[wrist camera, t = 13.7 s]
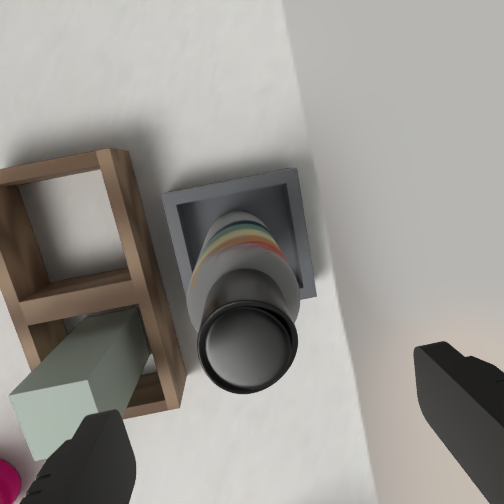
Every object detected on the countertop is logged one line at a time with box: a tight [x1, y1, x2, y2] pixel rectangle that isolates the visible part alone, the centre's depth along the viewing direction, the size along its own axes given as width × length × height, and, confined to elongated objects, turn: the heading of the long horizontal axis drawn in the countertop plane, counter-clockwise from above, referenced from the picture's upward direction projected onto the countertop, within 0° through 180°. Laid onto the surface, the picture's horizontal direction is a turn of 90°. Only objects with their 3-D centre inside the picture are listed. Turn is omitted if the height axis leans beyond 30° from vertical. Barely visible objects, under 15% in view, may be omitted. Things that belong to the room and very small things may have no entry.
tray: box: [161, 168, 317, 300], centre depth 32 cm, size 11×11×4 cm
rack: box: [0, 148, 187, 419], centre depth 31 cm, size 22×11×5 cm, turn 11°
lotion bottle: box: [187, 211, 300, 394], centre depth 23 cm, size 6×6×20 cm
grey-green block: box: [9, 308, 150, 461], centre depth 29 cm, size 5×5×12 cm
